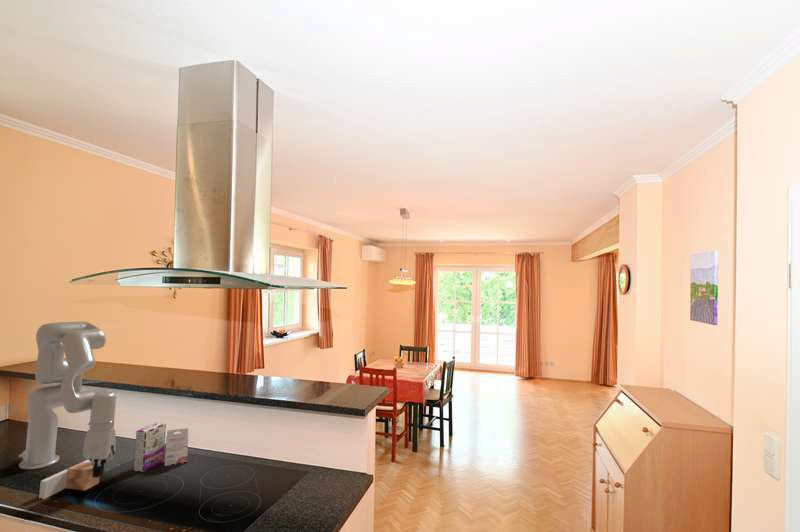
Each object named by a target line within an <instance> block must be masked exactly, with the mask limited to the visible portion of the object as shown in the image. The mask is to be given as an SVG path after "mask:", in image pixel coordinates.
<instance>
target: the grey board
mask: <svg viewBox="0 0 800 532" xmlns="http://www.w3.org/2000/svg"><path fill="white" fill-rule="evenodd" d="M82 462H85V463H91V461H90V460H88V459H85V460H84V461H82ZM82 462H79V463H78V464H80V463H82ZM75 465H76V464H75ZM75 465H74V464H73V465H71V466H70V467H68V468H71V467H73V466H75ZM68 468H66V469H63V470H62V471H59V472H58V473H55V474H53V475H51V476H49V477H46V478H44V479H42V480H40V484H39V485H40V486H39V494H38V495H39V496H38V498H39V499H40V498H41V499H43V500H45V499H47V498H49V497H51V496H53V495H55V494H58V493H59V492H61V491H63V490H65V489H67V488H66V483H67V471H68ZM41 499H40V500H41Z"/></svg>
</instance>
